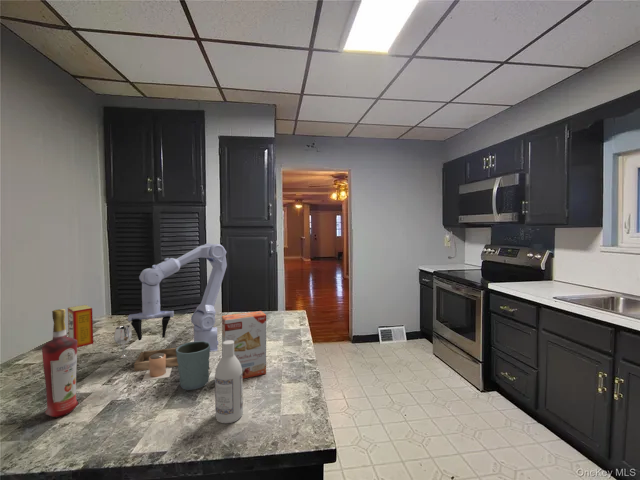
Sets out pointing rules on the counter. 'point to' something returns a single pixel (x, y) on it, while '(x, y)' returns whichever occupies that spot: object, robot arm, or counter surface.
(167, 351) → the brown wooden shallow tray
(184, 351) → the green cup
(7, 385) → the counter surface
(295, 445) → the counter surface
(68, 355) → the liquor
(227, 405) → the bath foam
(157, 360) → the pot
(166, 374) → the tile
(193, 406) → the counter surface
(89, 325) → the baking soda box
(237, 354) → the cracker box
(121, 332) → the wineglass
